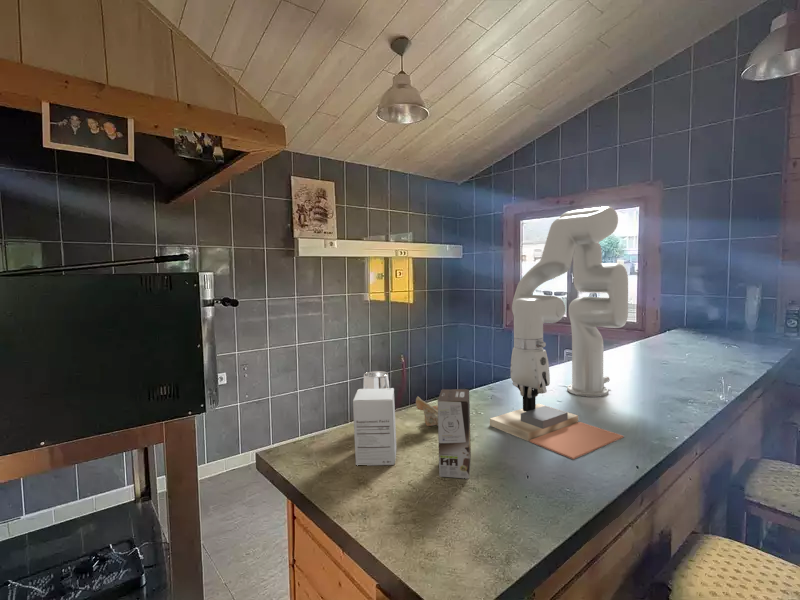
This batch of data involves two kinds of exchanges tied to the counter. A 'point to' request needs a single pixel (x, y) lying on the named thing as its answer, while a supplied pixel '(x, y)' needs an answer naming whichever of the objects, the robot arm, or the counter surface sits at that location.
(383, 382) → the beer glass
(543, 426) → the tile
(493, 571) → the counter surface
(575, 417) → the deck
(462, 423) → the coffee box
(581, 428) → the mat
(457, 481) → the counter surface
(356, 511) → the counter surface
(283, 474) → the counter surface
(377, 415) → the supplement box
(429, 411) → the oil lamp
